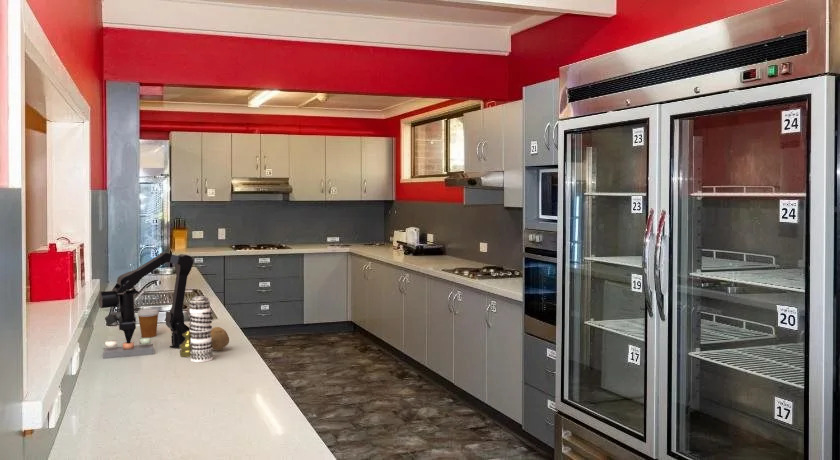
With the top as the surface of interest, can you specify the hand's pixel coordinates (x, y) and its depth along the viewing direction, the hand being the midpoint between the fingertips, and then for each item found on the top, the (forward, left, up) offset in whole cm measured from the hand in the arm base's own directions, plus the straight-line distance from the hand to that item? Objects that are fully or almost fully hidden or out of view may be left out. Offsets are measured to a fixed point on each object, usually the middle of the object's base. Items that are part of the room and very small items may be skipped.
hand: (128, 343), depth 314 cm
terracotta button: (0, 0, -2) cm, 2 cm away
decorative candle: (-35, -4, -5) cm, 35 cm away
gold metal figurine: (-25, -8, -5) cm, 27 cm away
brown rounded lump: (-30, -19, -5) cm, 36 cm away
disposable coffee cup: (+20, -31, -5) cm, 37 cm away
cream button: (+4, +5, -1) cm, 7 cm away
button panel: (0, 0, -5) cm, 5 cm away
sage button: (-4, -5, -1) cm, 6 cm away
